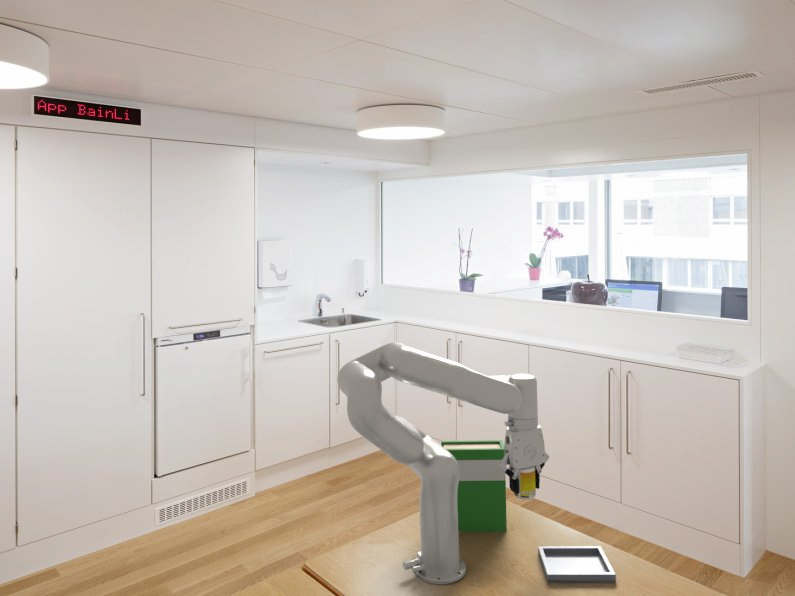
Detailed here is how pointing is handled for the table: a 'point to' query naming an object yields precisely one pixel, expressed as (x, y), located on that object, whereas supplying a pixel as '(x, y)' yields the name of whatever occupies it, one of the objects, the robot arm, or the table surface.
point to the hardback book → (480, 485)
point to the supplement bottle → (526, 483)
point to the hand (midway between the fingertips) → (524, 488)
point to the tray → (576, 564)
